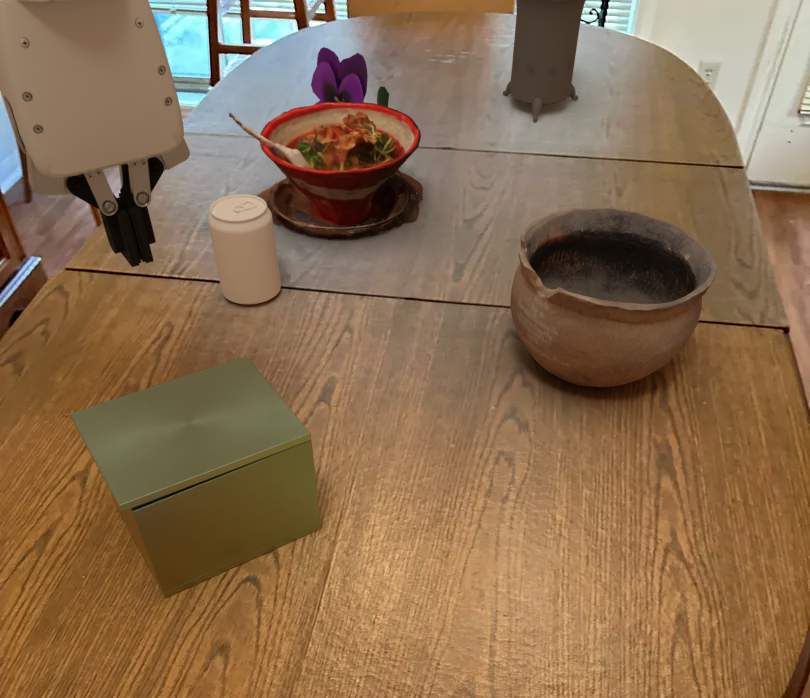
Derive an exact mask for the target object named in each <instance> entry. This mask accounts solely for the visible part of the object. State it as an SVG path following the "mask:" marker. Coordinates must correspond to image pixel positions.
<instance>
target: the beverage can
mask: <svg viewBox="0 0 810 698" xmlns="http://www.w3.org/2000/svg"><path fill="white" fill-rule="evenodd" d="M207 223H208V228H209V233H210V239H211V245H212V249H213V254H214V255H213V256H214V259H215V265H216V270H217V275H218V280H219V285H220V291H221V294H222V296H223V297H224V298H225V299H226V300H228V301H229V302H231V303H235V304H239V305H257V304H262V303H265V302H267V301H270V300H272V299H273V298H275V297H277V295H278V294H279V292H280V291H281V288H282V283H281V275H280V268H279V259H278V251H277V243H276V236H275V235H276V234H275V227H274V223H273V219H272V214H271V211H270V210H269V208H268V207H267V204H266V202H265V201H264V200H263V199H262V198H260V197H258V196H257V195H254V194H248V193H236V194H230V195H226V196H222V197H220V198H218V199H216V200H215V201H213V202H212V203H211V205H210V206H209V214H208V217H207Z"/></svg>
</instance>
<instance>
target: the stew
mask: <svg viewBox="0 0 810 698" xmlns="http://www.w3.org/2000/svg"><path fill="white" fill-rule="evenodd" d="M228 116H229V118H232V121H234V122H235V123H236V125H238V126H239V127H240V128H241V130H243V131H244V132H245V133H246V134H248V135H249V136H251V137H253V138H254V139H256V140H257V141H259V143H260V144H259V145H260V148H261V151H262V152H263V153H264V154H265V156H266V157H267V158H268V159H269V160H271V161H272V162H273V164H274V165H275V166H276V167H277V168H278V169H279V171H280V172H281V173H282V174H283V175H284V176H285V178H283V179H282V180H280V181H278V182H275V184H273V185H270V187H268V188H266V189H265V190H263V191H261V192H260V193H257V195H256V196H258V197H260V198H262V199H263V200H264V201H265V202H266V204H267V207H268V208H269V210H270V211H271V214H272V219H273V225H275V226H283V227H284V228H286V229H287V230H289V231H291V232H294V233H297V234H300V235H305V236H307V237H310V238H316V239H320V240H321V239H322V240H328V241H333V240H337V241H338V240H339V241H341V240H343V241H344V240H358V239H362V238H365V237H372V236H375V235H378V234H380V233H385V232H388V231H391V230H393V229H397V228H400V227H402V226H403V225H404V224H410V223H415V222H416V221H417V220H418V218H419V215H420V205H419V204H420V203H421V201H423V200H424V199H423V192H424V191H423V190H424V187H423V186H424V185H423V184H422V183H421V182H419V180H417V179H416V178H414V177H413V176H411V175H410V174H407V173H405V172H403V171H400V170H399V169H400V168H401V167H402V166H403V165H404V164H405V162H406V161H408V159H409V158H410V157H411V156H412V155H413V154H414V153H415V152H416V150H418V148H419V147H420V143H421V138H422V133H421V129H420V128H419V126H418V125H417V123H416V121H414V119H413V118H412V117H411V116H410V115H408V114H406V113H404V112H403V111H400V110H398V109H395V108H392V107H389V106H388V107H386V106H384V105H378V104H377V103H373V102H364V103H345V102H337V103H334V102H333V103H331V102H326V103H320V104H316V103H314V104H312V105H305V106H298V107H293V108H291V109H289V110H288V111H283V112H282V113H280V114H278V115H277V116H276V117H274V118H272V119H271V120H269V121H268V122H267V123H266V124H265V125H264V126H263V128H262V130H261V132H260V133H258V131H257V130H254V129H253V128H251V127H247V126H246V125H245V124H244V123H242V121H241V120H240V119H238V118H237V116H235V115H233V113H232V112H229V113H228ZM412 196H413V198H414V199H412ZM299 211H300V212H304V215H307V216H309V217H307V218H306V219H307V220H308V221H310V222H312V221H319V222H320V223H324V224H325V225H326V224H327V225H330V226H324V225H318V224H310V223H309V222H301V221H300V220H297V219H296V217H294V215H296V216H300V214H298V213H297V214H296V213H295V212H299ZM371 219H372V220H375V222H374V223H369V224H366V223H367V222H368V221H370V220H371ZM353 230H354V231H353ZM351 231H352V232H351Z"/></svg>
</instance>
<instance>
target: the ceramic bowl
mask: <svg viewBox="0 0 810 698" xmlns="http://www.w3.org/2000/svg"><path fill="white" fill-rule="evenodd" d="M519 238H520V250H519V251H518V252H517V255H518V259H519V263H518V265H517V268H516V270H515V274H514V277H513V281H512V285H511V289H510V302H509V303H510V305H509V308H510V314H511V318H512V322H513V326H514V330H515V332H516V334H517V336H518V338H519V339H520V341H521V342H522V344H523V346H524V348H525V349H526V350H527V352H528V353H529V354H530V356H532V359H533V360H534V361H535V362H537V364H539V366H541V367H542V368H543V369H544V370H546V371H547V372H548V373H550V374H551V375H553V376H555V377H557V378H558V379H560V380H562V381H565V382H567V383H570V384H573V385H576V386H582V387H590V388H610V387H619V386H622V385H627V384H629V383H632V382H636V381H639V380H642V379H644V378H645V377H647V376H649V375H651V374H653V373H655V372H657V371H658V370H660V369H661V368H663V367H664V366H666V365H667V364H669V363H670V362H671V361H672V359H674V357H675V356H677V355H678V354H679V353H680V352H681V351H682V350H683V349H684V348H685V347H686V345H687V344H688V342H689V341H690V339H691V337H692V335H693V334H694V332H695V330H696V329H697V326H698V325H699V321H700V317H701V313H702V309H703V296H704V295H706V293H707V291H708V290H709V288H710V287H711V286H712V284H713V283H714V281H715V277H716V275H717V263H716V261H715V258H714V257H713V255H712V254H711V252H710V251H709V250H708V249H707V247H706V246H705V245H703V244H702V243H701V242H700V241H699V240H697V239H695V238H694V237H693V236H692V235H690V234H689V233H688V232H686V231H685V230H684V229H682V228H681V227H680V226H678V225H676V224H674V223H671V222H669V221H666V220H663V219H660V218H656V217H654V216H650V215H647V214H646V213H644V212H640V211H633V210H626V209H622V208H617V207H613V206H612V207H599V208H597V207H596V208H589V207H571V208H567V209H565V210H561V211H557V212H552V213H549V214H547V215H546V216H544V217H543V218H539V219H537V220H534V221H532V222H531V223H530V224H529V225H528V226H527V227H526V228H525V229H524V230H523V232H522V233H521V234H520V236H519Z"/></svg>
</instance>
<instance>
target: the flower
mask: <svg viewBox="0 0 810 698" xmlns="http://www.w3.org/2000/svg"><path fill="white" fill-rule="evenodd" d="M368 78H369V75H368V66H367V62H366V59H365V57H364V55H362V54H361V53H360V52H356V53H355V54H353V55H351V56H350V57H346V58H343V59H342V60H341V61H340V58H339V56H338V54H336V52H335V51H333V50H332V49H330V48H328V47H324V46H323V47H322V48H320V49H319V51H318V53H317V57H316V66H315V68H314V71H313V74H312V78H311V83H310V86H311V90H312V93H313V94H314V95H315V96H316V97H317V99H319V100H318V101H317V102H315V104H320V103H326V102H331V103H333V102H334V103H337V102H345V103H365V102H364V101H365V99H366V95H367V90H368ZM376 96H377V97H376V104H378V105H384V106H386V107H389V99H390V93H389V91H388V90H387V88H386V87H385V86H379V87H378V90H377V95H376Z"/></svg>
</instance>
